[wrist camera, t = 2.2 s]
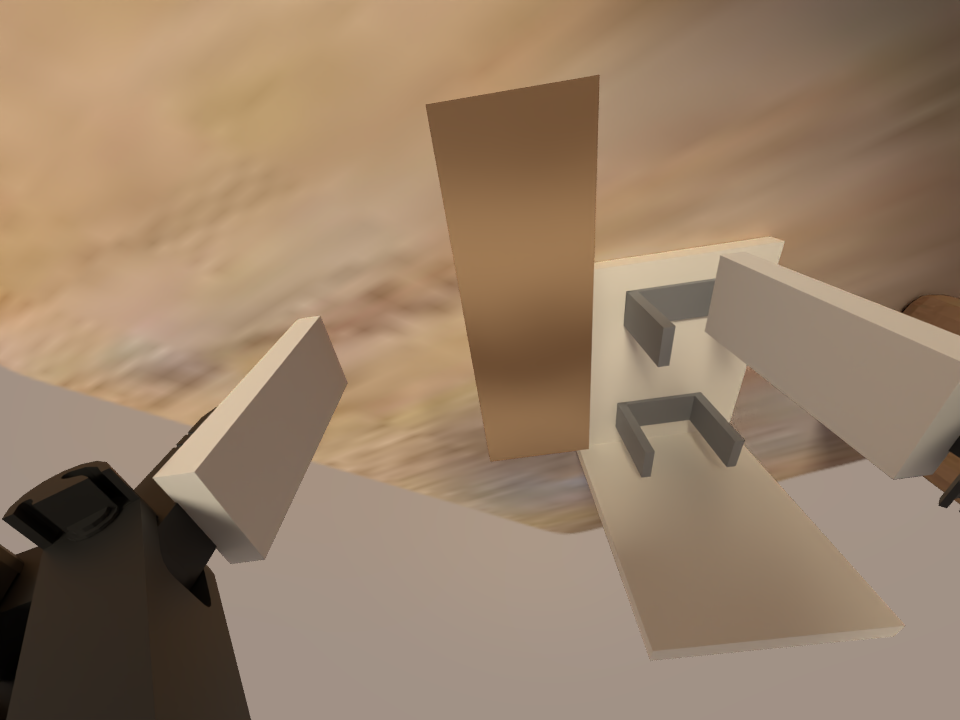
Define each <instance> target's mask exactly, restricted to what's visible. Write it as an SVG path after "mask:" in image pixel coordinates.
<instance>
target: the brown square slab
mask: <svg viewBox="0 0 960 720" xmlns="http://www.w3.org/2000/svg"><path fill="white" fill-rule="evenodd" d="M598 109H599V75H596V76H590V77H584V78H578V79H572V80H566V81H561V82H555V83H549V84H543V85H537V86H531V87H526V88H520V89H514V90H508V91H502V92H496V93H491V94H485V95H479V96H473V97H467V98H462V99H456V100H450V101H444V102H438V103H432V104H427V105H426V110H427V115H428V121H429V126H430V132H431V137H432V143H433V148H434V154H435V159H436V165H437V170H438V176H439V181H440V187H441V192H442V198H443V204H444V209H445V215H446V220H447V226H448V231H449V237H450V242H451V248H452V253H453V259H454V264H455V270H456V275H457V281H458V286H459V292H460V297H461V303H462V308H463V314H464V319H465V325H466V330H467V336H468V341H469V347H470V352H471V358H472V363H473V369H474V374H475V380H476V385H477V391H478V396H479V402H480V407H481V413H482V418H483V424H484V429H485V435H486V440H487V446H488V451H489V457H490V462H491V461H499V460H507V459H515V458H523V457H530V456H538V455H546V454H554V453H562V452H570V451H578V450H586V449H589V428H590V392H591V357H592V321H593V286H594V250H595V215H596V180H597V144H598Z"/></svg>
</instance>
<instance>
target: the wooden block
mask: <svg viewBox="0 0 960 720" xmlns="http://www.w3.org/2000/svg"><path fill="white" fill-rule="evenodd" d="M903 314H906V315H908V316H911V317H913V318H916V319H918V320H921V321H923V322H926V323H929V324H931V325H934V326H936V327H939V328H941V329H944V330H946V331H949V332H951V333H954V334H957V335H959V336H960V298H955V297H951V296H946V295H926V296H921V297H920V298H918V299H917V300H915V301H914V302H912V303H911V304H910V305H909V306H908V307H907V308H906V309H905V311H904V312H903ZM959 474H960V458H959V457H957V456H956V455H954V454H953V453H951V452H949V453H948V455H947V456H946V457H945V459H944V460H943V461H942V463H941V464H940V465H939V467H938V468H937V469H936V471H935V472H934V473H933V475H926V476H923V477H925V478H926V479H927V480H928V481H930V482H931V483H933V484H934V485H935V486H936V487H938V488H939V489H940V490H942V491H943V492H945V491H946V490H947V489H948V487H949V486H950V485H951V484H952V482H953V481H954V480H955V479H956V477H957V476H958V475H959ZM954 500H955V501H956V502H958V503H959V504H960V498H957V499H954Z"/></svg>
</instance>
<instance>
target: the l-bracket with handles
mask: <svg viewBox="0 0 960 720" xmlns="http://www.w3.org/2000/svg"><path fill="white" fill-rule="evenodd" d="M784 243H785V241H783V240H780V239H777V238H774V237H771V236H769V237H762V238H756V239H749V240H742V241H736V242H729V243H722V244H715V245H709V246H702V247H695V248H689V249H682V250H675V251H668V252H662V253H655V254H648V255H642V256H635V257H628V258H621V259H615V260H608V261H601V262H595V263H594V286H593V321H592V357H591V392H590V428H589V449H586V450H578V451H577V454H578V457H579V460H580V463H581V465H582V468H583V471H584V474H585V477H586V480H587V482H588V485H589V488H590V491H591V494H592V497H593V500H594V502H595V505H596V508H597V511H598V514H599V517H600V519H601V522H602V525H603V528H604V531H605V534H606V536H607V539H608V542H609V545H610V548H611V551H612V554H613V556H614V559H615V562H616V565H617V568H618V571H619V573H620V576H621V579H622V582H623V584H624V588H625V591H626V593H627V596H628V599H629V602H630V605H631V607H632V610H633V613H634V616H635V619H636V622H637V624H638V627H639V630H640V633H641V636H642V639H643V642H644V644H645V647H646V650H647V653H648V656H649V659H650V661H653V660H663V659H672V658H682V657H693V656H702V655H713V654H723V653H733V652H743V651H753V650H763V649H772V648H783V647H793V646H802V645H813V644H823V643H833V642H843V641H853V640H863V639H873V638H882V637H892V636H895V635H896V634H897V633H898V632H899V631H900V630H901V629H902V628H903V627H905V625H904V623H903V622H902V621H901V620H900V619H899V618H898V617H897V616H896V614H894V612H893V611H892V610H891V609H890V608H889V607H888V606H887V604H886V603H885V602H884V601H883V600H882V599H881V598H880V597H879V596H878V595H877V593H876V592H875V591H874V590H873V589H872V588H871V587H870V585H869V584H868V583H867V582H866V581H865V580H864V579H863V578H862V576H860V574H859V573H858V572H857V571H856V570H855V569H854V568H853V566H852V565H851V564H850V563H849V562H848V561H847V560H846V559H845V558H844V556H843V555H842V554H841V553H840V552H839V551H838V550H837V549H836V548H835V546H834V545H833V544H832V543H831V542H830V541H829V540H828V538H827V537H826V536H825V535H824V534H823V533H822V532H821V531H820V530H819V529H818V527H817V526H816V525H815V524H814V523H813V522H812V521H811V519H810V518H809V517H808V516H807V515H806V514H805V513H804V512H803V511H802V510H801V508H800V507H799V506H798V505H797V504H796V503H795V502H794V500H793V499H792V498H791V497H790V496H789V495H788V494H787V493H786V492H785V490H784V489H783V488H782V487H781V486H780V485H779V484H778V483H777V481H776V480H775V479H774V478H773V477H772V476H771V475H770V474H769V473H768V471H767V470H766V469H765V468H764V467H763V466H762V465H761V464H760V462H759V461H758V460H757V459H756V458H755V457H754V456H753V455H752V454H751V452H750V451H749V450H748V449H747V448H746V447H745V446H744V445H743V444H744V441H745V440H744V439H743V438H742V437H741V435H740V434H739V433H738V432H737V431H736V430H735V429H734V428H733V427H732V426H731V425H730V420H731V417H732V413H733V410H734V407H735V403H736V400H737V397H738V394H739V390H740V387H741V384H742V380H743V377H744V374H745V371H746V367H747V364H745V363H744V362H743V361H742V360H740V359H739V358H738V357H736V356H735V355H734V354H733V353H731V352H730V351H729V350H728V349H726V348H725V347H724V346H722V345H721V344H720V343H719V342H717V341H716V340H715V339H714V338H712V337H711V336H710V335H708V334H707V333H706V332H705V327H706V323H707V318H708V313H709V308H710V303H711V298H712V293H713V289H714V284H715V279H716V274H717V269H718V264H719V259H720V255H725V254H732V253H738V252H747V253H750V254H752V255H755V256H757V257H760V258H763V259H765V260H768V261H770V262H773V263H775V264H778V262H779V259H780V256H781V252H782V249H783V246H784Z"/></svg>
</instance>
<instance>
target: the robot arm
mask: <svg viewBox="0 0 960 720" xmlns="http://www.w3.org/2000/svg"><path fill="white" fill-rule="evenodd" d="M705 332H706V333H707V334H708V335H710V336H711V337H712V338H714V339H715V340H716V341H717V342H719V343H720V344H721V345H722V346H724V347H725V348H726V349H728V350H729V351H730V352H731V353H733V354H734V355H735V356H736V357H738V358H739V359H740V360H742V361H743V362H744V363H745V364H747V365H748V366H749V367H750V368H752V369H753V370H754V371H756V372H757V373H758V374H759V375H761V376H762V377H763V378H764V379H766V380H767V381H768V382H770V383H771V384H772V385H773V386H775V387H776V388H777V389H778V390H780V391H781V392H782V393H784V394H785V395H786V396H787V397H789V398H790V399H791V400H792V401H794V402H795V403H796V404H798V405H799V406H800V407H801V408H803V409H804V410H805V411H806V412H808V413H809V414H810V415H812V416H813V417H814V418H815V419H817V420H818V421H819V422H821V423H822V424H823V425H824V426H826V427H827V428H828V429H829V430H831V431H832V432H833V433H835V434H836V435H837V436H838V437H840V438H841V439H842V440H843V441H845V442H846V443H847V444H849V445H850V446H851V447H852V448H854V449H855V450H856V451H857V452H859V453H860V454H861V455H863V456H864V457H865V458H866V459H868V460H869V461H870V462H871V463H873V464H874V465H875V466H877V467H878V468H879V469H880V470H882V471H883V472H884V473H885V474H887V475H888V476H889V477H891V478H892V479H893V480H894V479H903V478H910V477H918V476H926V475H933V473H934V472H935V471H936V469H937V468H938V467H939V465H940V464H941V463H942V461H943V460H944V459H945V457H946V456H947V455H948V453H949V452H951V453H953V454H954V455H956V456H957V457H959V458H960V336H959V335H957V334H954V333H951V332H949V331H946V330H944V329H941V328H939V327H936V326H934V325H931V324H929V323H926V322H923V321H921V320H918V319H916V318H913V317H911V316H908V315H906V314H903V313H900V312H898V311H895V310H893V309H890V308H888V307H885V306H883V305H880V304H877V303H875V302H872V301H870V300H867V299H865V298H862V297H860V296H857V295H854V294H852V293H849V292H847V291H844V290H842V289H839V288H837V287H834V286H831V285H829V284H826V283H824V282H821V281H819V280H816V279H814V278H811V277H808V276H806V275H803V274H801V273H798V272H796V271H793V270H791V269H788V268H786V267H783V266H780V265H778V264H775V263H773V262H770V261H768V260H765V259H763V258H760V257H757V256H755V255H752V254H750V253H747V252H738V253H732V254H725V255H720V259H719V264H718V269H717V274H716V279H715V284H714V289H713V293H712V298H711V303H710V308H709V313H708V318H707V323H706V327H705ZM346 385H347V380H346V378H345V375H344V373H343V370H342V368H341V365H340V363H339V360H338V358H337V356H336V353H335V351H334V348H333V346H332V343H331V341H330V338H329V336H328V333H327V331H326V329H325V326H324V324H323V321H322V319H321V316H315V317H308V318H302V319H297V321H296V322H295V323H294V324H293V325H292V326H291V327H290V328H289V329H288V330H287V331H286V333H285V334H284V335H283V336H282V337H281V338H280V339H279V340H278V341H277V342H276V344H275V345H274V346H273V347H272V348H271V349H270V350H269V351H268V352H267V353H266V354H265V356H264V357H263V358H262V359H261V360H260V361H259V362H258V363H257V364H256V365H255V366H254V368H253V369H252V370H251V371H250V372H249V373H248V374H247V375H246V376H245V377H244V378H243V380H242V381H241V382H240V383H239V384H238V385H237V386H236V387H235V388H234V389H233V390H232V392H231V393H230V394H229V395H228V396H227V397H226V398H225V399H224V400H223V401H222V402H221V404H220V405H219V406H217V407H216V408H214V409H213V410H212V411H210V412H209V413H207V414H206V415H204V416H203V417H202V418H201V419H200V420H199V421H198V422H197V423H196V424H195V425H194V426H193V427H192V428H191V430H190V431H189V432H188V435H185V436H184V437H183V438H182V439H181V440H180V441H179V442H178V443H177V447H176V448H173V449H172V450H171V451H170V452H169V453H168V454H167V455H166V456H165V457H164V458H163V459H162V461H161V462H160V463H159V464H158V465H157V466H156V467H155V468H154V469H153V470H152V471H151V472H150V474H148V475H147V476H146V478H145V479H144V480H143V481H142V482H141V483H140V484H139V485H138V486H137V487H136V488H135V489H134V490H133V489H132V488H131V487H130V486H129V485H128V484H127V483H126V481H124V479H123V478H122V477H121V476H120V475H119V474H118V473H117V472H116V471H115V470H114V469H113V468H112V467H111V466H110V465H109V464H108V463H107V462H101V461H95V462H90V463H85V464H81V465H78V466H76V467H73V468H71V469H68V470H66V471H63V472H61V473H59V474H57V475H55V476H53V477H51V478H50V479H48V480H46V481H44V482H42V483H41V484H39V485H38V486H36V487H35V488H33V489H32V490H30V491H29V492H27V493H26V494H25V495H23V496H22V497H21V498H20V499H19V500H18V501H17V502H15V503H14V504H13V505H12V506H11V507H10V508H9V509H8V511H7V512H6V514H5V515H4V517H3V518H2V520H4V521H5V522H7V523H8V524H9V525H10V526H12V527H13V528H15V529H16V530H17V531H19V532H20V533H21V534H23V535H24V536H25V537H27V538H28V539H29V540H31V541H32V542H33V543H35V544H36V545H37V546H38V547H36V548H33V549H30V550H28V551H25V552H22V553H19V554H16V555H15V554H13V553H12V552H10V551H9V550H8V549H6V548H5V547H3V546H2V545H0V720H251V718H250V715H249V710H248V706H247V702H246V698H245V694H244V690H243V686H242V682H241V678H240V674H239V670H238V666H237V662H236V659H235V654H234V650H233V647H232V642H231V639H230V635H229V631H228V627H227V623H226V619H225V615H224V611H223V607H222V603H221V599H220V595H219V591H218V587H217V583H216V579H215V575H214V573H213V572H212V571H211V569H210V568H209V567H208V566H207V565H206V564H207V562H208V561H209V559H210V557H211V556H212V554H213V552H214V550H215V549H217V550H218V551H219V552H220V553H221V554H222V555H223V556H224V557H225V558H226V560H227V561H228V562H229V563H230V564H234V563H241V562H249V561H258V560H264V559H265V558H266V556H267V554H268V551H269V549H270V547H271V545H272V543H273V541H274V539H275V537H276V534H277V532H278V530H279V528H280V526H281V524H282V522H283V520H284V518H285V515H286V513H287V511H288V509H289V507H290V505H291V503H292V500H293V498H294V496H295V494H296V492H297V490H298V488H299V485H300V483H301V481H302V479H303V477H304V475H305V473H306V471H307V469H308V466H309V464H310V462H311V460H312V458H313V456H314V454H315V451H316V449H317V447H318V445H319V443H320V441H321V439H322V437H323V434H324V432H325V430H326V428H327V426H328V424H329V422H330V420H331V417H332V415H333V413H334V411H335V409H336V407H337V405H338V402H339V400H340V398H341V396H342V394H343V392H344V390H345V388H346ZM957 498H960V474H959V475H958V476H957V477H956V479H955V480H954V481H953V482H952V484H951V485H950V486H949V487H948V489H947V490H946V491H945V492H944V494H943V495H942V496H941V498H940V500H939V506H941V507H945V508H947V507H948V506H949V505H950V504H951V503H952V502H953V500H954V499H957ZM959 512H960V511H959Z"/></svg>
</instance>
